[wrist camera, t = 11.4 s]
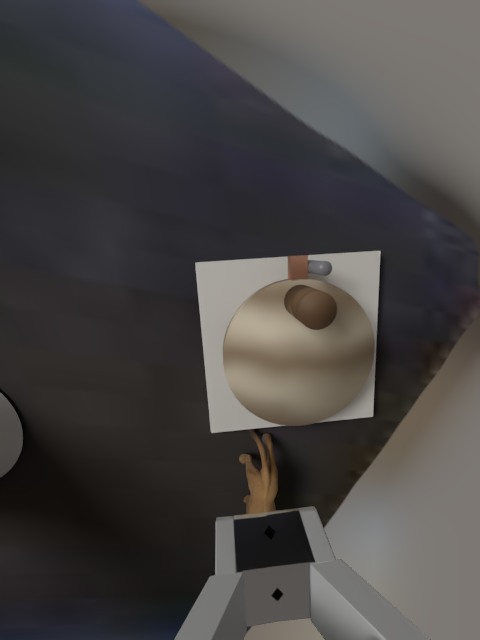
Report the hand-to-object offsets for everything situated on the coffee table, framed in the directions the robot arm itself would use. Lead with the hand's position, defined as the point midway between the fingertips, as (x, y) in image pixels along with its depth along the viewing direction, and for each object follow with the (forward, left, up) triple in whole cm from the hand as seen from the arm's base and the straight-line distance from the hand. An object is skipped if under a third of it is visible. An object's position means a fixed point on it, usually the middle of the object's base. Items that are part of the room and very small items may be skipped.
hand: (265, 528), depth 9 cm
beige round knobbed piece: (+7, -1, -21) cm, 22 cm away
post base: (+6, -2, -24) cm, 25 cm away
